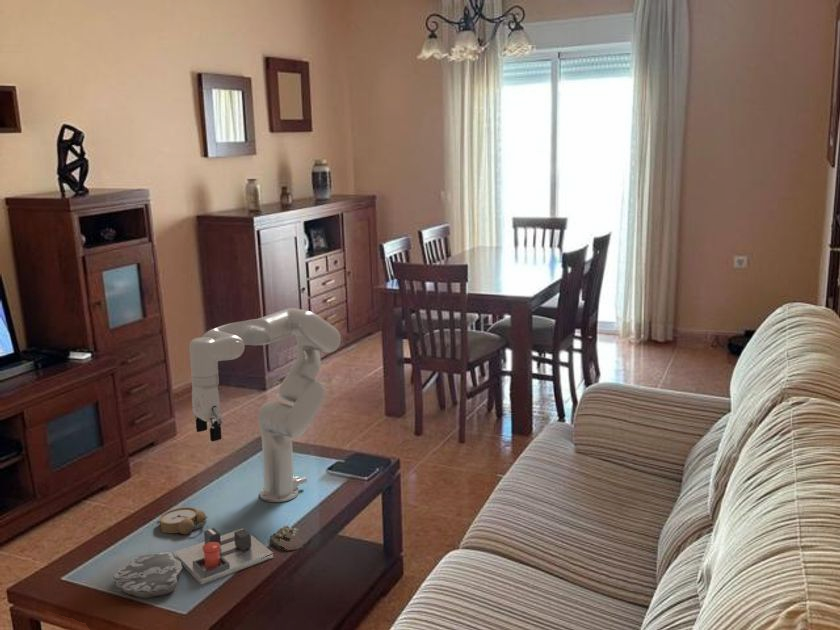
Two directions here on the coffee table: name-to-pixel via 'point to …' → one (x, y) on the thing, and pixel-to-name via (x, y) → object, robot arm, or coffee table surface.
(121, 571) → the brain slice
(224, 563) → the panel
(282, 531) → the grey rough lump
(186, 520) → the alarm clock
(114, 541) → the coffee table surface
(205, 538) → the block
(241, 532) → the breaker
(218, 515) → the coffee table surface
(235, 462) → the coffee table surface
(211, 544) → the cap
